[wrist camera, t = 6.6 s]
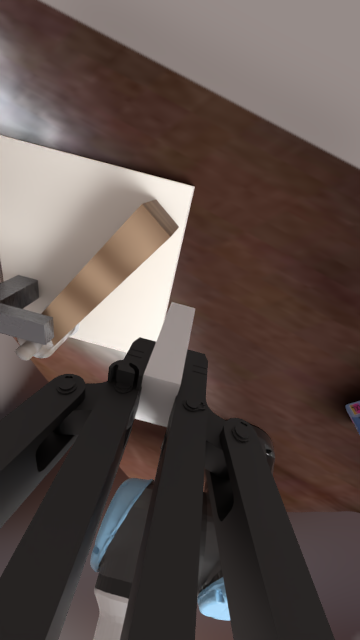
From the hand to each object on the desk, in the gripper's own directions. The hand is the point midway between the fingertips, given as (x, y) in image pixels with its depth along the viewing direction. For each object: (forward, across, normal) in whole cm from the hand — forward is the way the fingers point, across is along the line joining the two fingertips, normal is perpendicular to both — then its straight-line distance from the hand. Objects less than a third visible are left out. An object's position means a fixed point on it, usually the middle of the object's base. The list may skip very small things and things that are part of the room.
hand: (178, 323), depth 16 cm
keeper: (+20, +20, +12) cm, 30 cm away
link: (+18, +12, +7) cm, 23 cm away
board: (+20, +15, +6) cm, 25 cm away
